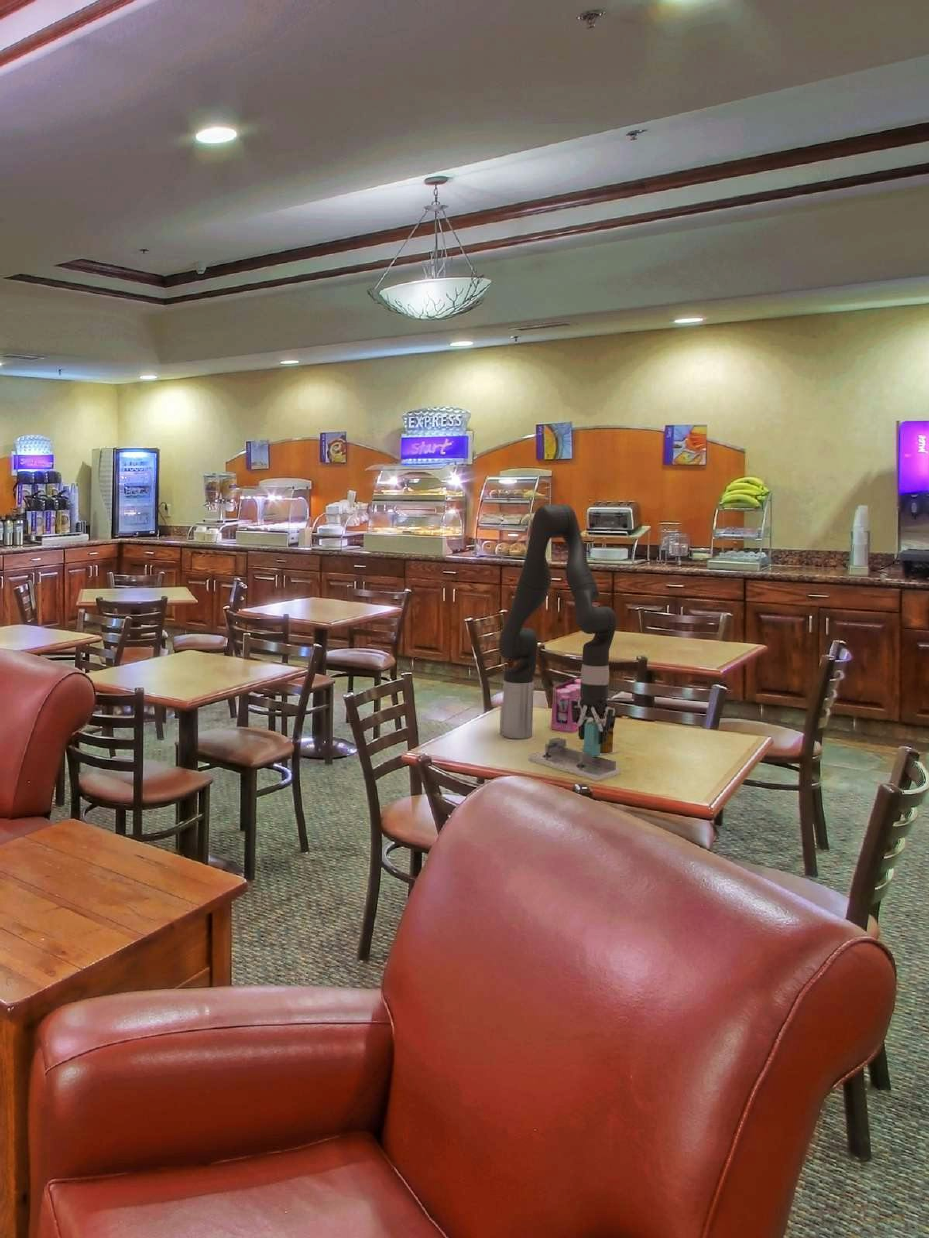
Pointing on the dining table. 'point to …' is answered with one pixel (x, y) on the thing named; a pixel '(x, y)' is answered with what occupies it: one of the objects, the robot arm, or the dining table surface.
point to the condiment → (607, 742)
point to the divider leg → (590, 741)
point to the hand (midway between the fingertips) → (592, 741)
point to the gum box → (565, 705)
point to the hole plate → (574, 761)
